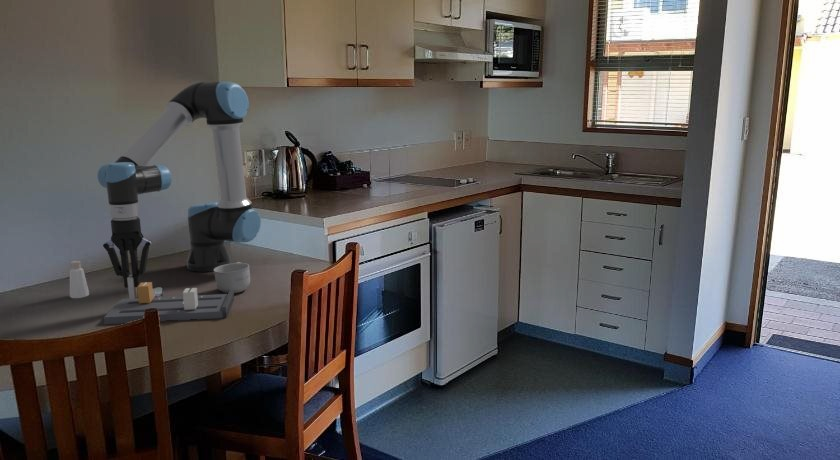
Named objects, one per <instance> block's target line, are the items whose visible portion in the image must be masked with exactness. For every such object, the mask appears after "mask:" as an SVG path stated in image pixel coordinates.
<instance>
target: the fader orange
mask: <svg viewBox="0 0 840 460" xmlns="http://www.w3.org/2000/svg"><path fill="white" fill-rule="evenodd" d="M153 288H154V287H153V281H148V282H147V281H145V282H140V284H139V285H138V286H137V295H138V299H139V303H150V302H151V301H152V300H153Z"/></svg>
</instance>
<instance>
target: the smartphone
mask: <svg viewBox="0 0 840 460" xmlns="http://www.w3.org/2000/svg"><path fill="white" fill-rule="evenodd" d="M152 288H153V298H154V297H164V287H162V286H159V287H158V286H156V287H152ZM137 298H138V294H137Z"/></svg>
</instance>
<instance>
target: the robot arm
mask: <svg viewBox="0 0 840 460" xmlns="http://www.w3.org/2000/svg"><path fill="white" fill-rule="evenodd" d="M249 107H250V103H249V97H248V94H247V93H246V91H245V89H244V88H242V87H241V85H239V84H238V83H236V82H231V81H215V82H213V81H212V82H203V81H202V82H195V83H192V84H190V85H188V86H186V87H185V88H184V89H182V90H180V91H179V92H178V93H177V94H176V95H174V97H172V98H171V99H170V100H169V101H168V102H167V104H165V110H163V112H162V113H161V114H160V115H159V116H158V117H157V118H156V119H155V121H154V122H153V123H151V125H150V126H149V127H148V128H146V130H145V131H144V132H143V133H142V134H141V135H140V136H139V137H138V138H137V139H136V140H135V141H134V142H133V143H132V144H131V145H130V146H129V147H128V148H127V150H126V151H124V152H123V154H121V156H120V157H119V158H117V159H116V161H114V162H112V163H110V162H109V163H107V164H104V165H101V166H100V167H99V169H98V171H97V180H98V182H99V184H100V185H101V186H102V187H103V188H106V190H107V199H108V208H109V210H108V211H109V216H110V217H109V218H111V220H110V227H111V229H110V230H111V236H110V240H109V241H105V242H104V243H103V244H102V247H103V248H104V249H105V251H106V252H107V254H108V257H109V259H110V261H111V264H112V267H113V270H114V273H115V275H116V276H118V277H119V276H121V277H122V278H123V283H124V284H123V285H124V288H125V289H127V290H128V299H129V300H133V299H136V298H137V295H138V289H137V286H138V285H139V284H140V283H141V282H140V276H141V275H143V274H145V272H146V269H147V262H148V257H149V250H150V247H151V245H153V241H152V240H151V239H149V240H148V239H146V238H144V235H143V233H142V227H141V218H140V217H139V216H140V207H139V196H138V195H143V194H147V193H148V194H149V193H155V192H161V191H164V190H167V189H169V187H171V185H172V179H173V178H172V173H171V171H170V169H169V168H168V167H167V166H165V165H162V164H160V165H155V164H153V165H150V164H151V163H152V162H153V160H154V159H156V157H158V155H159V154H160V153H162V151H163V150H164V149H165V147H167V146H168V144H169V143H170V142H171V141H172V140H173V139H174V138H175V137H176V136H177V135H178V134H179V133H180V131H182V130H183V129H184V127H189V126H190V125H191V124H192V123H193V122H195V121H197V120H199V119H206V126H208V127H209V128H210V129H211V130H212V137H213V138H212V139H213V146H214V155H215V161H216V170H217V180H218V187H219V188H218V189H219V195H220V196H219V197H220V201H211V202H204V203H202V202H201V203H198V204H193V205H190V206H189V207H188V210H187V223H188V233H189V240H190V248H189V252H188V257H187V261H186V267H187V270H189V271H191V272H198V273H200V272H203V273H205V272H206V273H207V272H214V269H215V268H216V267H218V266H221V265H225V264H231V263H232V259H231V256H230V253H229V252H228V249H227V246H226V243H225V241H226V242H234V243H239V244H240V243H249V242H252V241H253V240H255V238H256V237H257V235H258V233H259V231H260V229H261V224H262V222H261V221H262V217H261V215H260V213H259V212H258V211H257V210H256V209H253V203H252V201H251V200H250V199H249V198H248V197H247V190H246V188H247V187H246V181H245V171H244V162H243V152H242V143H241V134H240V133H241V132H240V127H241V126H242V125H243V124H244V118H245V117H246V116H247V114H248V111H249V109H250V108H249ZM149 165H150V166H149ZM140 244H141V246H142V251H141V256H140V262H139V258H138V248H139V246H140ZM115 246H116V248H117V249H118V250H119V255H120V260H119V256H118V255H117V251H116V249H115ZM129 255H130V263H129ZM130 265H131V270H130ZM130 271H131V272H130ZM130 274H131V275H130Z"/></svg>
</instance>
